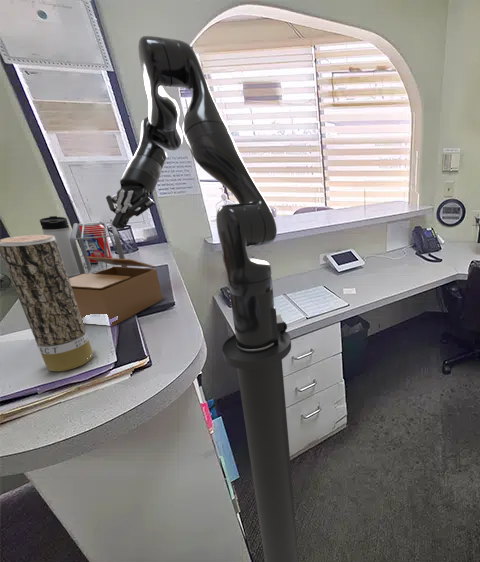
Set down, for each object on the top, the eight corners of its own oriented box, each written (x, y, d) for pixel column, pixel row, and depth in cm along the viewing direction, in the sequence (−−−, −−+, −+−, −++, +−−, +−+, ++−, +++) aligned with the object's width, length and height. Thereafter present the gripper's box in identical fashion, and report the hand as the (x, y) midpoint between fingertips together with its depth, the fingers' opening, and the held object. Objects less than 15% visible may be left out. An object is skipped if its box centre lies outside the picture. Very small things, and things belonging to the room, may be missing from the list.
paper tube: (84, 349, 65) (44, 233, 57) (101, 358, 63) (62, 237, 54) (40, 366, 60) (-12, 239, 51) (57, 377, 57) (6, 245, 48)
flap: (113, 264, 88) (113, 263, 88) (155, 267, 87) (155, 266, 87) (84, 257, 80) (85, 256, 80) (130, 260, 79) (131, 259, 79)
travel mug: (83, 272, 109) (66, 215, 102) (84, 277, 105) (66, 218, 98) (59, 275, 105) (39, 216, 98) (58, 281, 101) (37, 219, 94)
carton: (122, 296, 91) (113, 263, 88) (163, 299, 90) (155, 266, 87) (63, 322, 76) (50, 284, 72) (112, 326, 75) (100, 288, 71)
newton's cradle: (88, 272, 110) (73, 222, 103) (125, 267, 116) (113, 219, 110) (88, 300, 88) (68, 239, 82) (133, 291, 95) (118, 234, 89)
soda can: (118, 259, 124) (108, 222, 119) (98, 265, 117) (86, 225, 112) (103, 257, 126) (92, 221, 121) (81, 263, 119) (69, 224, 114)
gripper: (172, 185, 91) (151, 235, 84) (131, 184, 92) (106, 234, 85) (154, 166, 84) (129, 219, 77) (109, 166, 85) (81, 218, 78)
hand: (117, 227), depth 81 cm, fingers closed
